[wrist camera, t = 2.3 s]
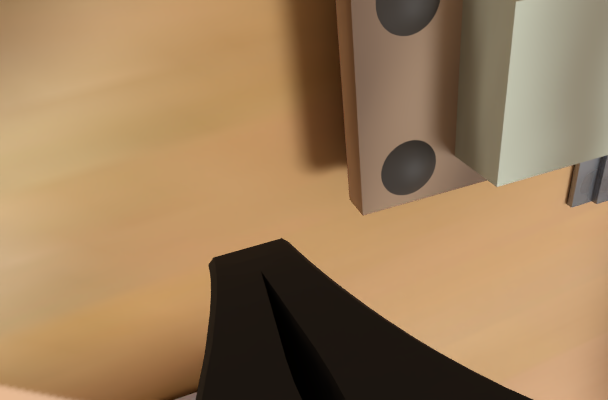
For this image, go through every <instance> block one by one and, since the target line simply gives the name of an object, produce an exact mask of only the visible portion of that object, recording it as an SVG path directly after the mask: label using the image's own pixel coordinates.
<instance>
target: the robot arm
mask: <svg viewBox="0 0 608 400" xmlns="http://www.w3.org/2000/svg"><path fill="white" fill-rule="evenodd" d="M209 270H210V277H211V304H210V317H209V325H208V333H207V341H206V349H205V355H204V361H203V366H202V371H201V375H200V380H199V385H198V390H197V392H195V393H192V394H189V395H186V396H183V397H181V398H178V399H175V400H533V399H530V398H528V397H526V396H524V395H521V394H519V393H517V392H515V391H512V390H510V389H508V388H506V387H504V386H502V385H500V384H498V383H496V382H494V381H492V380H490V379H488V378H486V377H484V376H482V375H480V374H478V373H476V372H474V371H472V370H470V369H468V368H466V367H465V366H463V365H461V364H459V363H457V362H455V361H454V360H452V359H450V358H448V357H446V356H445V355H443V354H441V353H439V352H437V351H436V350H434V349H432V348H431V347H429V346H427V345H426V344H424V343H422V342H421V341H419V340H417V339H416V338H414V337H413V336H411V335H409V334H408V333H406V332H405V331H403V330H402V329H400V328H399V327H397V326H396V325H394V324H392V323H391V322H389V321H388V320H386V319H385V318H383V317H382V316H381V315H379V314H378V313H376V312H375V311H373V310H372V309H370V308H369V307H368V306H366V305H365V304H364V303H362V302H361V301H360V300H358V299H357V298H355V297H354V296H353V295H351V294H350V293H349V292H347V291H346V290H345V289H343V288H342V287H341V286H339V285H338V284H337V283H336V282H334V281H333V280H332V279H331V278H329V277H328V276H327V275H326V274H324V273H323V272H322V271H321V270H320V269H318V268H317V267H316V266H315V265H314V264H312V263H311V262H310V261H309V260H308V259H307V258H305V257H304V256H303V255H302V254H301V253H300V252H299V251H298V250H297V249H295V248H294V247H293V246H292V245H291V244H290V243H289V242H288V241H286V240H284V239H282V238H281V239H278V240H274V241H271V242H267V243H264V244H260V245H257V246H253V247H250V248H246V249H242V250H239V251H235V252H232V253H228V254H225V255H221V256H218V257H214V258H213V259H212V261H211V262H210V263H209Z"/></svg>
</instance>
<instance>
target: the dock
mask: <svg viewBox="0 0 608 400" xmlns="http://www.w3.org/2000/svg"><path fill="white" fill-rule="evenodd" d="M591 201H592V202H594V203H596V204H598V203H602V202H605V201H608V155H606V156H603V157H599V158H596V159H592V160H589V161H585V162H582V163H578V164H575V166H574V171H573V176H572V182H571V187H570V192H569V197H568V203H567V205H569V206H570V207H575V206H578V205H581V204H584V203H587V202H591Z"/></svg>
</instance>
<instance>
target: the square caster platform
mask: <svg viewBox="0 0 608 400" xmlns="http://www.w3.org/2000/svg"><path fill="white" fill-rule="evenodd" d="M336 13H337V27H338V41H339V55H340V69H341V84H342V98H343V112H344V126H345V140H346V154H347V168H348V182H349V197H350V200H351V202H352V203H353V204H354V205H355V206H356V208H357V209H358V210H359V211H360V213H361V214H362V215H366V214H370V213H373V212H377V211H380V210H384V209H388V208H391V207H395V206H398V205H402V204H405V203H409V202H412V201H416V200H419V199H423V198H426V197H430V196H433V195H437V194H440V193H444V192H448V191H451V190H455V189H458V188H462V187H465V186H469V185H472V184H476V183H479V182H483V181H486V180H488V181H489V182H491V183H492V184H494V185H495V186H496V187H498V186H502V185H505V184H509V183H512V182H516V181H519V180H523V179H526V178H530V177H533V176H537V175H540V174H544V173H547V172H550V171H554V170H557V169H561V168H564V167H568V166H571V165H575V164H578V163H582V162H585V161H589V160H592V159H596V158H599V157H603V156H606V155H608V0H336Z"/></svg>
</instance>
